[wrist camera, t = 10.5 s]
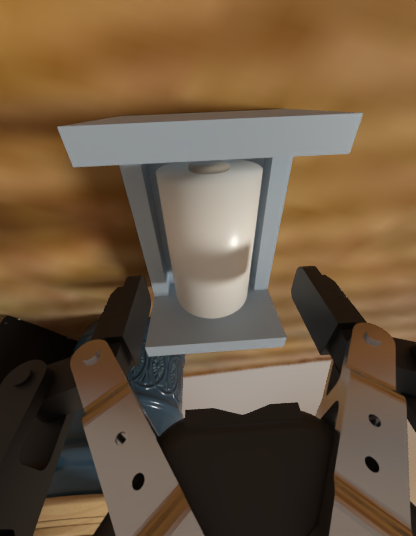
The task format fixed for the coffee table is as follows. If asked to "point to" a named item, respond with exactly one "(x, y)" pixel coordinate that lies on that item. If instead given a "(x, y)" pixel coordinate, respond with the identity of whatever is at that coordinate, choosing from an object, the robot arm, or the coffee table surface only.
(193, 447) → the robot arm
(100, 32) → the coffee table surface
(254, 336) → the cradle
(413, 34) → the coffee table surface
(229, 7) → the coffee table surface
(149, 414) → the canister
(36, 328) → the long black block
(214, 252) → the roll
